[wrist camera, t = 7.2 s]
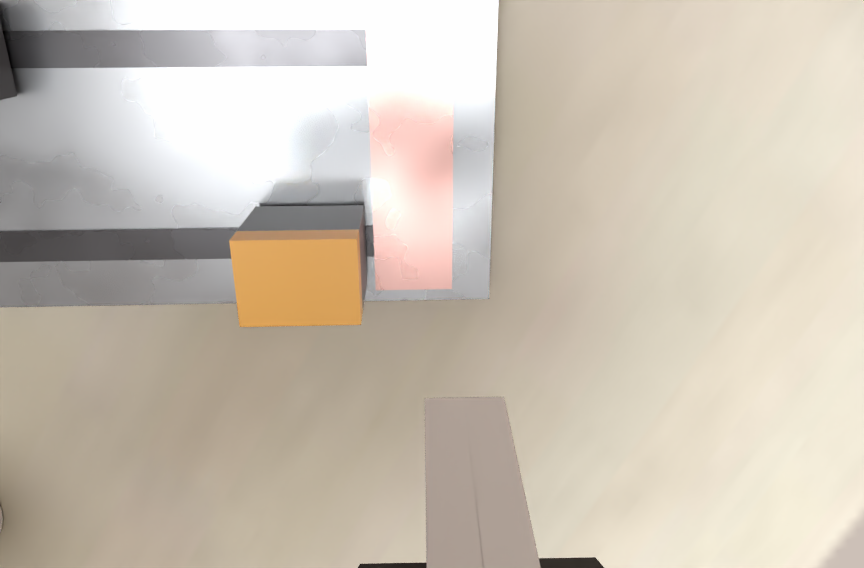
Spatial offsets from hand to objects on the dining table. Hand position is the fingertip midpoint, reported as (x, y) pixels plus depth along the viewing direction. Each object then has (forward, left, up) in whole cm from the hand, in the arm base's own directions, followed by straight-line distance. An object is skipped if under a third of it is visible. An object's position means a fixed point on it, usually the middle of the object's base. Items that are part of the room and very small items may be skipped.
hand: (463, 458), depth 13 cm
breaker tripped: (-5, 0, -14) cm, 14 cm away
